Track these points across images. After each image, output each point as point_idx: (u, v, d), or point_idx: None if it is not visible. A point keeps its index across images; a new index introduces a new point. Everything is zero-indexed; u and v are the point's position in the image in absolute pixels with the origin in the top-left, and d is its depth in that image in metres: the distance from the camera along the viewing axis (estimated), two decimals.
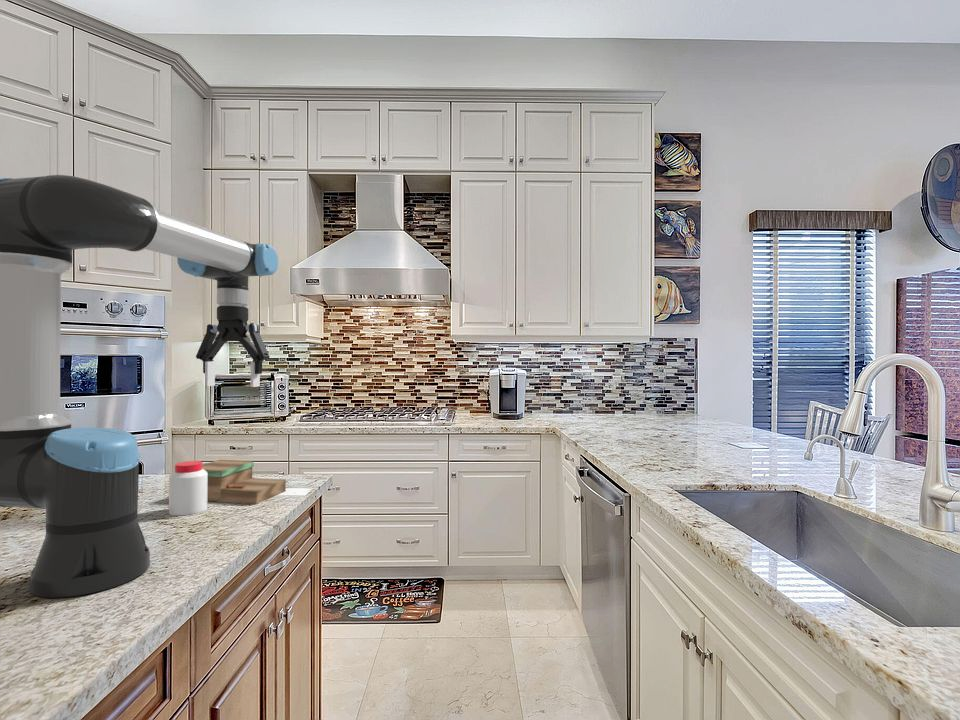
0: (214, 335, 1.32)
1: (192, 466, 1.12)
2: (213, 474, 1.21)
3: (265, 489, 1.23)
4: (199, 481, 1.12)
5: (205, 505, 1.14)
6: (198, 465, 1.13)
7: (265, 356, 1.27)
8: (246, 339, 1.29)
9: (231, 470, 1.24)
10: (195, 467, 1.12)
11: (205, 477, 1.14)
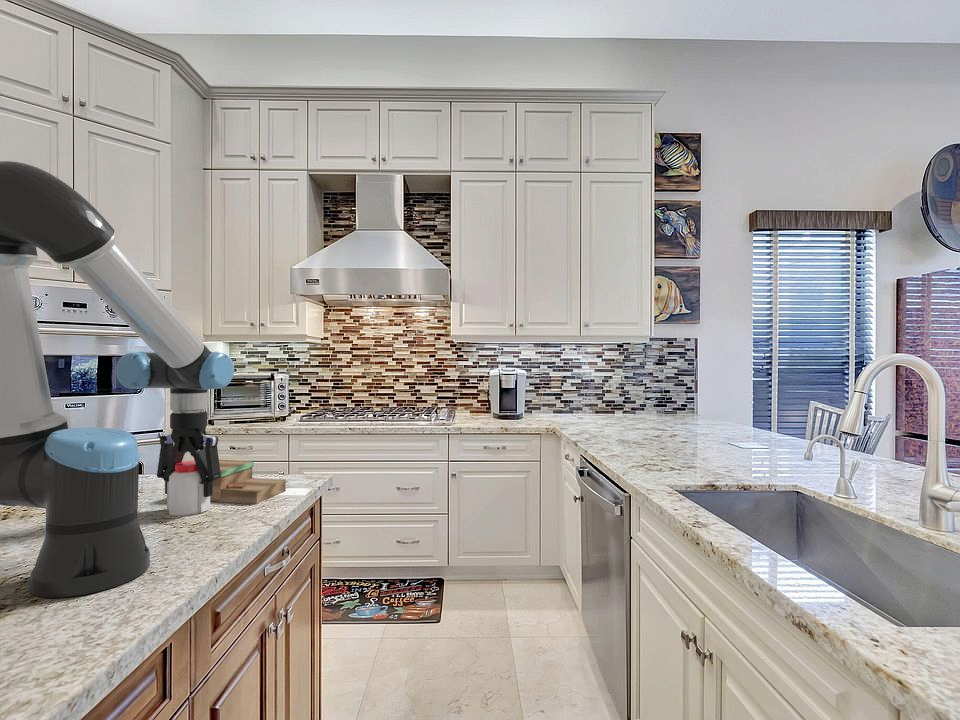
0: (171, 446, 1.15)
1: (192, 466, 1.12)
2: None
3: (265, 489, 1.23)
4: (199, 481, 1.12)
5: None
6: None
7: (215, 478, 1.12)
8: (201, 452, 1.13)
9: (231, 470, 1.24)
10: (195, 467, 1.12)
11: None
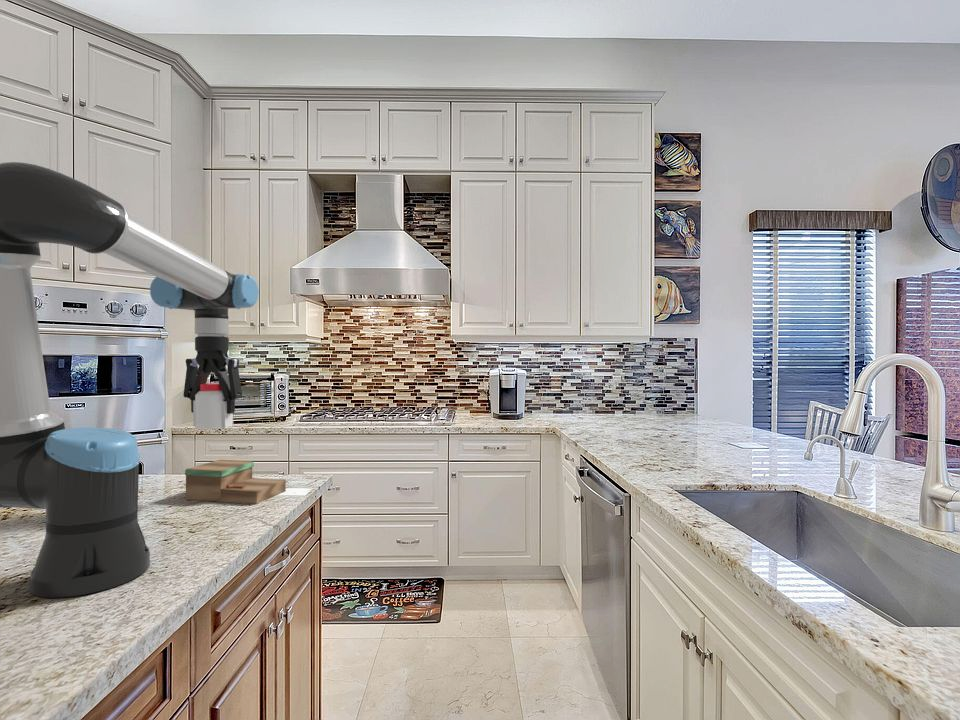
0: (196, 369, 1.25)
1: (216, 385, 1.22)
2: (213, 474, 1.21)
3: (265, 489, 1.23)
4: (223, 399, 1.22)
5: None
6: None
7: (237, 396, 1.22)
8: (223, 373, 1.23)
9: (231, 470, 1.24)
10: (218, 386, 1.22)
11: None
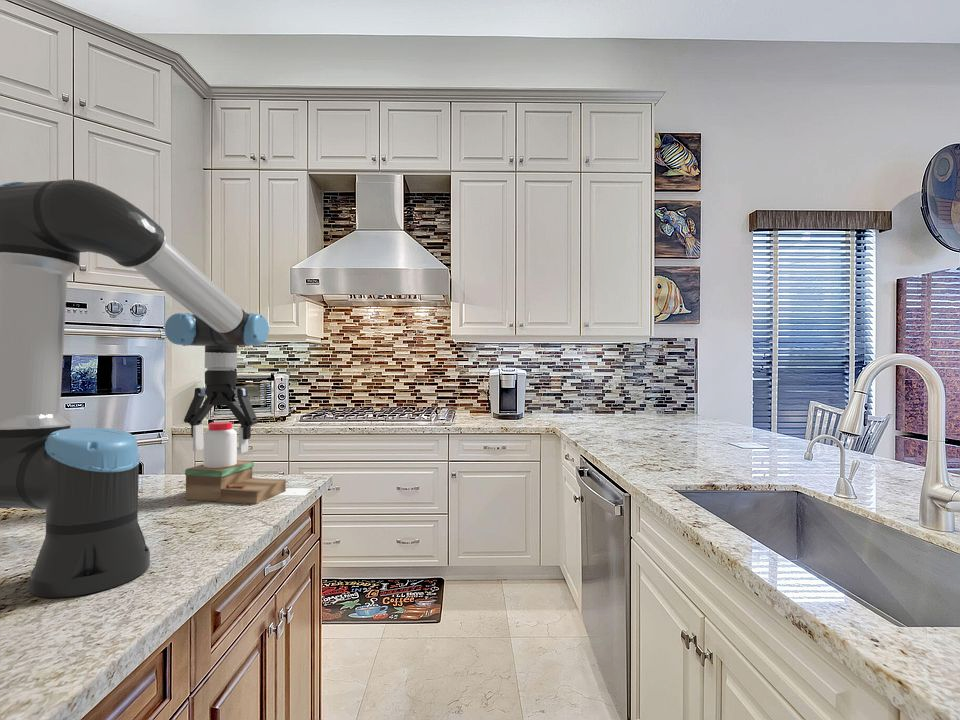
0: (202, 398, 1.30)
1: (224, 425, 1.26)
2: (213, 474, 1.21)
3: (265, 489, 1.23)
4: (230, 438, 1.26)
5: (235, 460, 1.28)
6: (229, 424, 1.27)
7: (253, 421, 1.26)
8: (234, 403, 1.27)
9: (231, 470, 1.24)
10: (226, 426, 1.27)
11: (235, 435, 1.28)
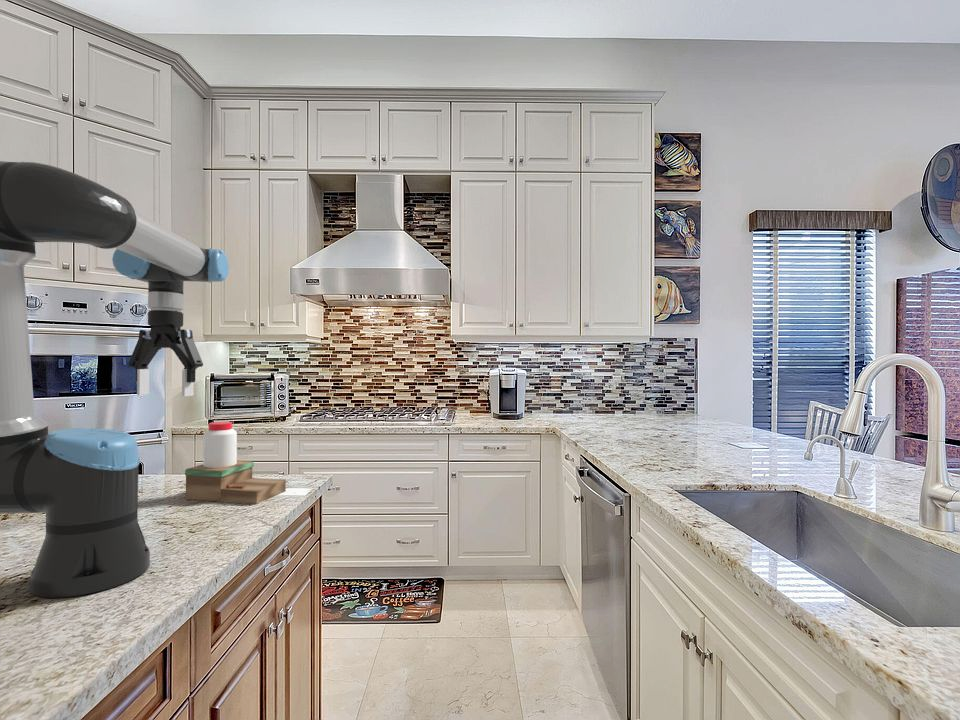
0: (148, 341, 1.25)
1: (224, 425, 1.26)
2: (213, 474, 1.21)
3: (265, 489, 1.23)
4: (230, 439, 1.26)
5: (235, 460, 1.28)
6: (229, 424, 1.27)
7: (197, 363, 1.20)
8: (179, 345, 1.22)
9: (231, 470, 1.24)
10: (226, 426, 1.27)
11: (235, 435, 1.28)
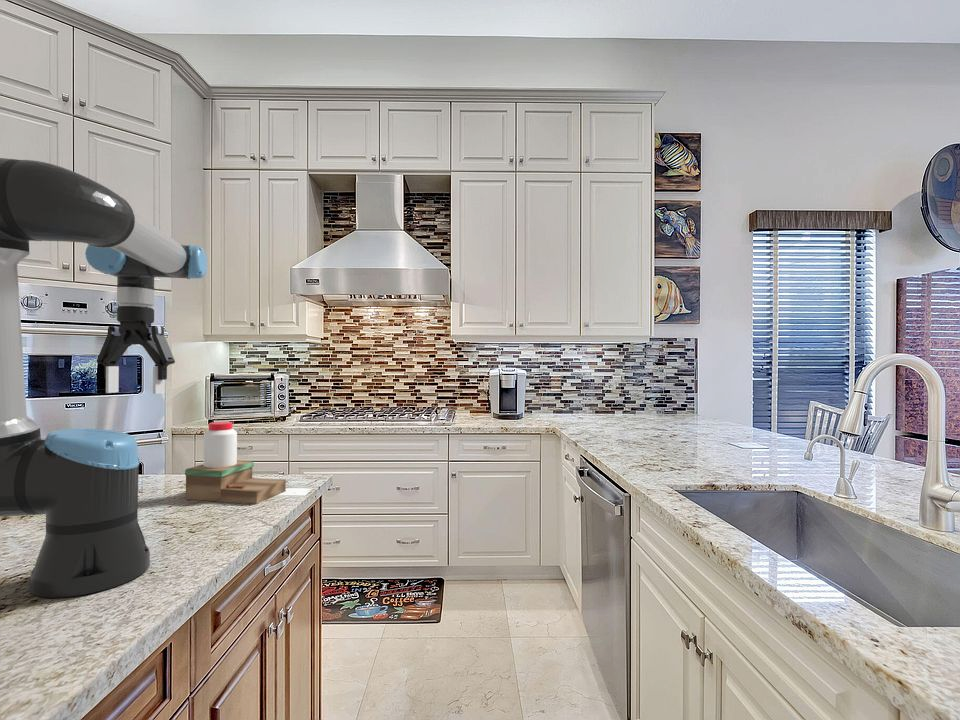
0: (117, 338, 1.22)
1: (224, 425, 1.26)
2: (213, 474, 1.21)
3: (265, 489, 1.23)
4: (231, 439, 1.26)
5: (235, 460, 1.28)
6: (229, 424, 1.27)
7: (169, 361, 1.18)
8: (150, 342, 1.19)
9: (231, 470, 1.24)
10: (227, 426, 1.27)
11: (235, 435, 1.28)
